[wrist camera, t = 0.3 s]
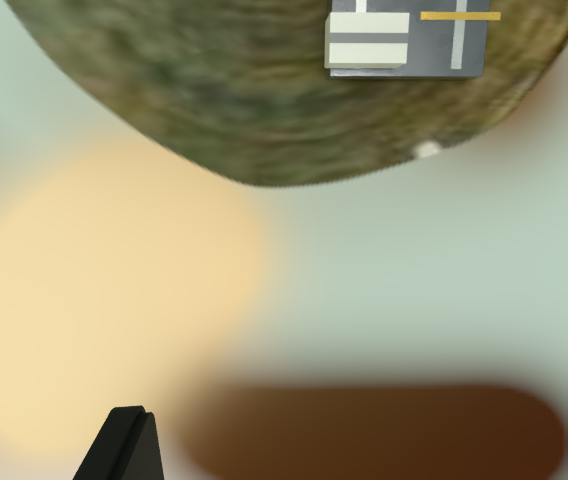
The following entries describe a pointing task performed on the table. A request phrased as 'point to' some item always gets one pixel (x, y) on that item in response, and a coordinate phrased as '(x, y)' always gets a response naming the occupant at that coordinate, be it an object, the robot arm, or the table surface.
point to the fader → (366, 40)
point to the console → (428, 39)
